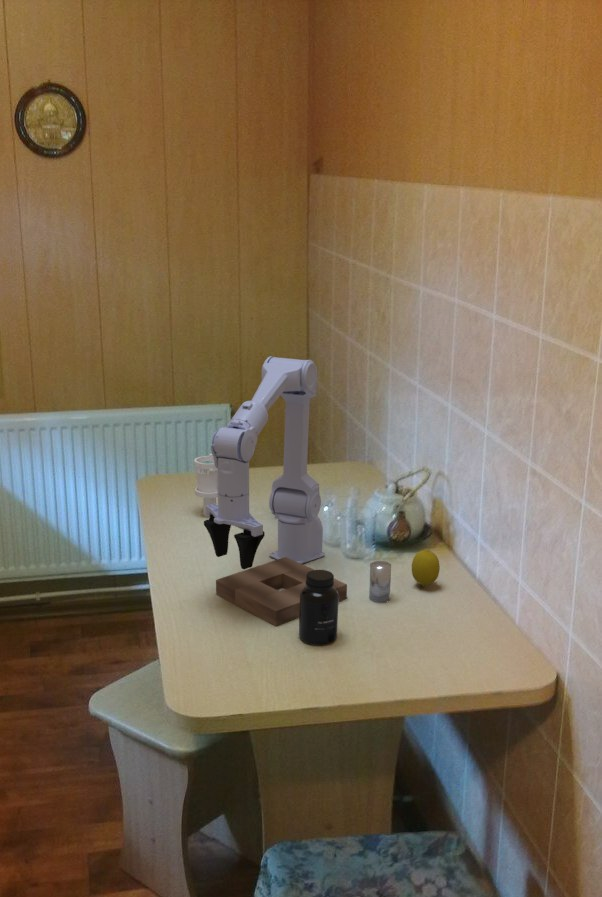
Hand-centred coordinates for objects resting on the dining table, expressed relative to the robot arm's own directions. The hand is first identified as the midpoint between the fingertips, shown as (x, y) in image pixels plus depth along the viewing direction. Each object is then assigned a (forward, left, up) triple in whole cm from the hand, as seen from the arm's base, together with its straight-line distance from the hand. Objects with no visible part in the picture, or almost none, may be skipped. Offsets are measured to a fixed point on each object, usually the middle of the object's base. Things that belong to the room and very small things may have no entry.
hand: (234, 561), depth 173 cm
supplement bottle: (-4, +19, -10) cm, 22 cm away
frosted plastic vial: (-24, +15, -9) cm, 30 cm away
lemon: (-35, +17, -10) cm, 40 cm away
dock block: (-10, +2, -9) cm, 14 cm away
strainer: (-27, -44, -10) cm, 52 cm away
